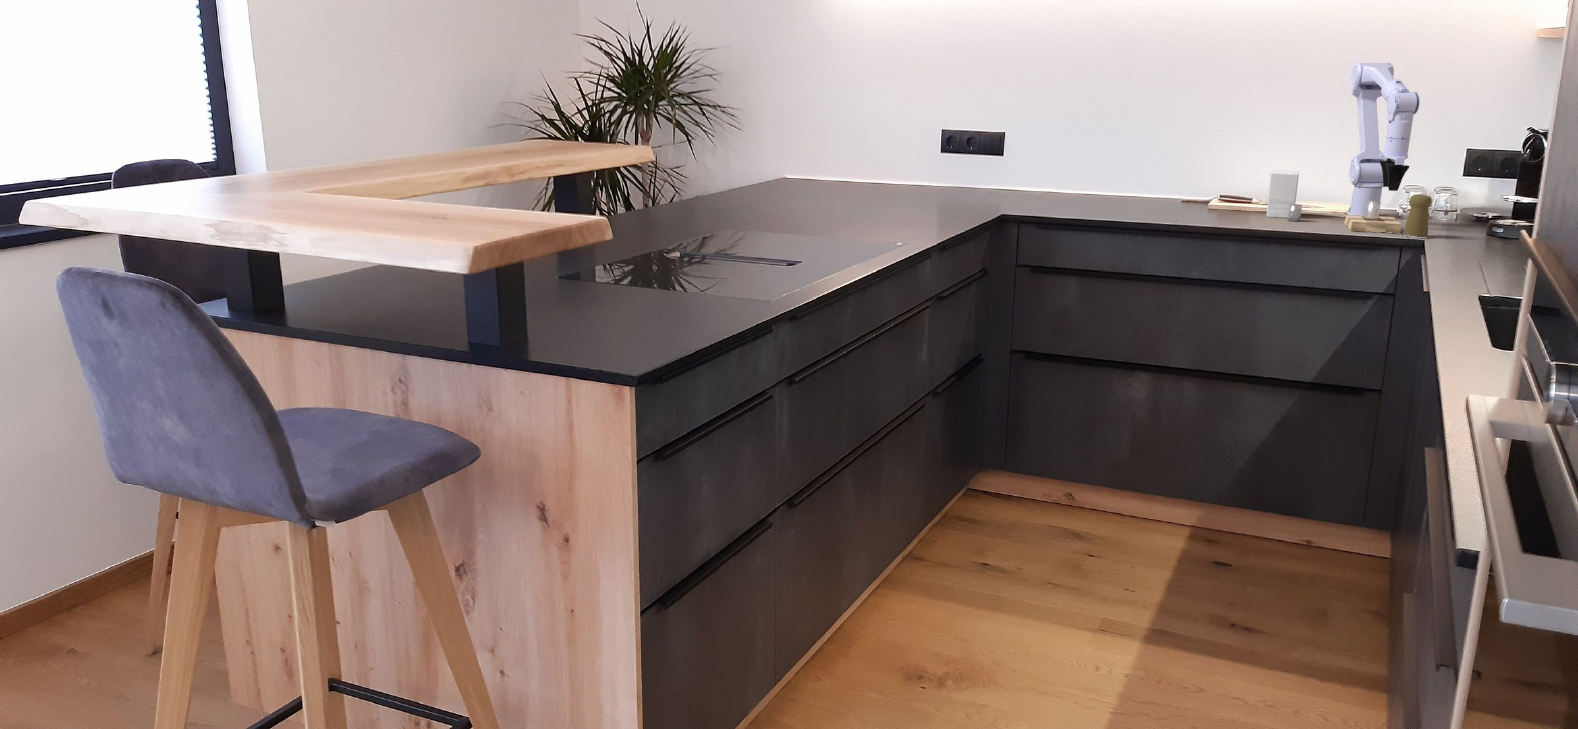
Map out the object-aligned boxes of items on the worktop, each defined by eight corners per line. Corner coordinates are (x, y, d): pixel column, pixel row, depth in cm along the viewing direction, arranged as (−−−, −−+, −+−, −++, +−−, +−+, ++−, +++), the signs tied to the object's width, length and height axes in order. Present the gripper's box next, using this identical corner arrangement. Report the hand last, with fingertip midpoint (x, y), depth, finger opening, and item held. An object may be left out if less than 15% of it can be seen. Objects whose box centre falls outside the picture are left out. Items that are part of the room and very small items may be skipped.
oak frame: (1344, 223, 326) (1345, 214, 325) (1391, 226, 322) (1393, 216, 322) (1350, 231, 315) (1352, 221, 314) (1400, 233, 311) (1401, 224, 311)
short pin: (1287, 219, 332) (1289, 203, 331) (1299, 220, 331) (1301, 204, 330) (1288, 221, 329) (1290, 205, 328) (1300, 222, 328) (1302, 206, 327)
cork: (1422, 234, 310) (1428, 193, 307) (1431, 239, 305) (1438, 196, 302) (1398, 234, 311) (1404, 192, 308) (1407, 238, 305) (1414, 196, 302)
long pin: (1363, 227, 321) (1367, 200, 319) (1376, 228, 319) (1380, 200, 317) (1363, 229, 318) (1367, 201, 316) (1376, 230, 317) (1381, 202, 314)
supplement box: (1294, 214, 340) (1299, 171, 337) (1293, 218, 334) (1298, 174, 330) (1267, 213, 343) (1272, 169, 340) (1265, 216, 337) (1270, 172, 333)
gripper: (1377, 135, 323) (1369, 184, 327) (1386, 140, 309) (1379, 191, 313) (1405, 135, 321) (1397, 185, 325) (1416, 141, 308) (1408, 192, 311)
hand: (1390, 188), depth 319 cm, fingers open, 7 cm apart
